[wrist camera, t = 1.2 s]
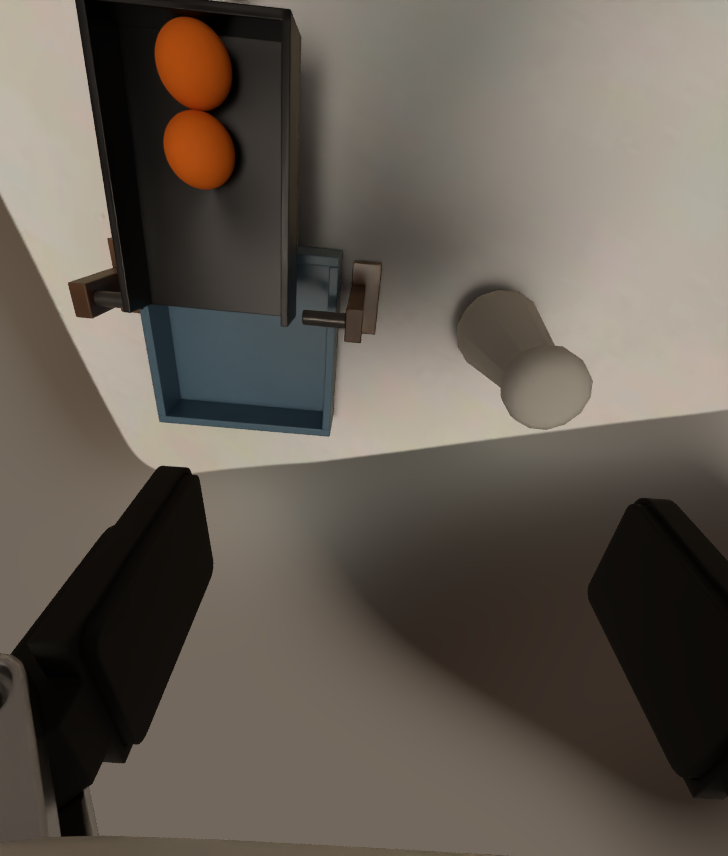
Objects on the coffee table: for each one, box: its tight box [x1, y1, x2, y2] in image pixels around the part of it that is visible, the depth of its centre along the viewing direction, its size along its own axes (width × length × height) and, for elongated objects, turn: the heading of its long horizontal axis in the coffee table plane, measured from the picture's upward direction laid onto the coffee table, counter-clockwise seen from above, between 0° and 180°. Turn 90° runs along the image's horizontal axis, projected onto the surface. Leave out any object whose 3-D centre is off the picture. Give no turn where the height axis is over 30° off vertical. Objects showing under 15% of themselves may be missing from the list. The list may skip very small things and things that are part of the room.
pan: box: [75, 0, 301, 327], centre depth 20 cm, size 20×9×3 cm, turn 175°
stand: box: [68, 238, 382, 343], centre depth 28 cm, size 5×19×7 cm, turn 85°
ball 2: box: [163, 110, 235, 190], centre depth 20 cm, size 3×3×3 cm
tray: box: [140, 246, 343, 436], centre depth 31 cm, size 13×13×4 cm
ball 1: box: [155, 17, 232, 111], centre depth 19 cm, size 3×3×3 cm
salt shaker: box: [457, 290, 593, 430], centre depth 27 cm, size 6×6×13 cm
